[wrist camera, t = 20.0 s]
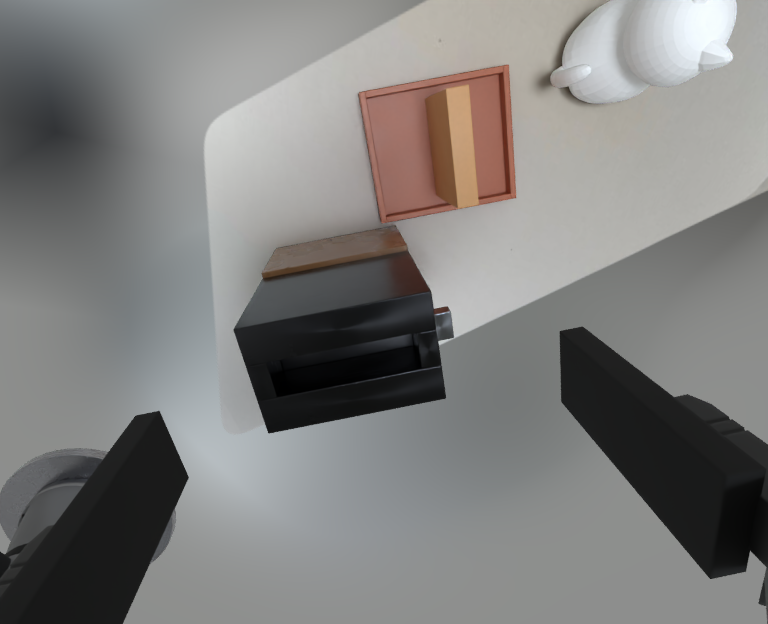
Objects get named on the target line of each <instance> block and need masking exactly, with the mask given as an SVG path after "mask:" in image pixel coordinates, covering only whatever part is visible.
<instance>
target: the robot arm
mask: <svg viewBox="0 0 768 624" xmlns="http://www.w3.org/2000/svg"><path fill="white" fill-rule="evenodd" d="M560 364H561V401H562V403H563V404H564V405H565V407H566V408H567V409H568V410H569V412H570V413H571V414H572V415H573V416H574V417H575V419H576V420H577V421H578V422H579V423H580V425H581V426H582V427H583V428H584V429H585V431H586V432H587V433H588V434H589V435H590V437H591V438H592V439H593V440H594V441H595V442H596V444H597V445H598V446H599V447H600V448H601V449H602V451H603V452H604V453H605V454H606V456H607V457H608V458H609V459H610V460H611V462H612V463H613V464H614V465H615V466H616V467H617V469H618V470H619V471H620V472H621V473H622V475H623V476H624V477H625V478H626V479H627V480H628V482H629V483H630V484H631V485H632V487H633V488H634V489H635V490H636V491H637V493H638V494H639V495H640V496H641V497H642V498H643V500H644V501H645V502H646V503H647V504H648V506H649V507H650V508H651V509H652V510H653V512H654V513H655V514H656V515H657V516H658V517H659V519H660V520H661V521H662V522H663V523H664V525H665V526H666V527H667V528H668V529H669V531H670V532H671V533H672V534H673V535H674V536H675V538H676V539H677V540H678V541H679V542H680V544H681V545H682V546H683V547H684V548H685V550H686V551H687V552H688V553H689V554H690V556H691V557H692V558H693V559H694V560H695V562H696V563H697V564H698V565H699V566H700V567H701V569H702V570H703V571H704V572H705V573H706V575H707V576H708V577H709V578H710V579H713V578H718V577H722V576H727V575H732V574H737V573H741V572H746V568H747V563H748V558H749V553H750V551H751V552H752V553H753V554H754V555H755V556H756V557H757V558H758V559H759V560H760V561H761V562H762V563H763V564H764V565H765V566H766V567H767V568H766V573H765V577H764V582H763V586H762V590H761V595H760V599H759V604H761V605H764V606H766V609H767V623H768V444H766V443H765V442H763V441H762V440H761V439H759V438H757V437H756V436H755V435H754V434H752V433H751V432H749V431H745V430H744V427H742V426H741V425H740V424H738V423H737V422H735V421H734V420H730V419H729V417H728V416H727V415H725V414H724V413H723V412H721V411H720V410H719V409H717V408H716V407H714V406H713V405H712V404H709V403H707V402H705V401H702V400H700V399H698V398H695V397H693V396H690V395H688V394H687V395H683V396H678V397H673V396H672V395H670V394H669V393H668V392H667V391H665V390H664V389H663V388H661V387H660V386H659V385H657V384H656V383H655V382H653V381H652V380H651V379H650V378H648V377H647V376H646V375H644V374H643V373H642V372H641V371H639V370H638V369H637V368H635V367H634V366H633V365H631V364H630V363H629V362H628V361H626V360H625V359H624V358H622V357H621V356H620V355H619V354H617V353H616V352H615V351H614V350H612V349H611V348H610V347H608V346H607V345H606V344H604V343H603V342H602V341H601V340H599V339H598V338H597V337H595V336H594V335H593V334H592V333H590V332H589V331H588V330H586V329H585V328H584V327H578V328H573V329H568V330H563V331H560ZM188 478H189V477H188V475H187V472H186V470H185V468H184V466H183V463H182V461H181V459H180V456H179V454H178V452H177V450H176V447H175V445H174V443H173V441H172V438H171V436H170V434H169V432H168V429H167V427H166V425H165V423H164V420H163V418H162V416H161V414H160V411H157V412H152V413H147V414H142V415H137V416H135V417H134V419H133V420H132V421H131V423H130V424H129V425H128V427H127V428H126V429H125V431H124V432H123V433H122V435H121V436H120V437H119V439H118V440H117V441H116V443H115V444H114V445H113V447H112V448H111V449H110V451H109V452H108V453H107V455H106V456H105V457H104V459H103V460H102V461H101V463H100V464H99V465H98V467H97V468H96V470H95V471H94V472H93V474H92V475H91V476H90V478H89V479H67V480H62V481H58V482H55V483H52V484H50V485H48V486H46V487H44V488H43V489H41V490H40V491H39V492H38V493H37V494H36V495H35V496H34V497H33V498H32V499H31V501H30V502H29V503H28V504H27V506H26V507H25V509H24V510H23V512H22V514H21V516H20V519H19V522H18V528H17V530H16V532H15V534H14V536H13V538H12V540H11V543H10V545H9V548H8V550H7V553H6V554H5V555H4V554H3V553H1V552H0V624H123V622H124V620H125V617H126V615H127V613H128V611H129V608H130V606H131V604H132V602H133V600H134V597H135V595H136V593H137V591H138V589H139V586H140V584H141V582H142V580H143V578H144V575H145V573H146V571H147V569H148V566H149V564H150V562H151V560H152V558H153V555H154V553H155V551H156V549H157V547H158V544H159V542H160V540H161V538H162V536H163V533H164V531H165V529H166V527H167V524H168V522H169V520H170V518H171V516H172V513H173V511H174V509H175V506H176V505H177V502H178V500H179V498H180V496H181V493H182V491H183V489H184V487H185V484H186V482H187V480H188Z"/></svg>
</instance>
